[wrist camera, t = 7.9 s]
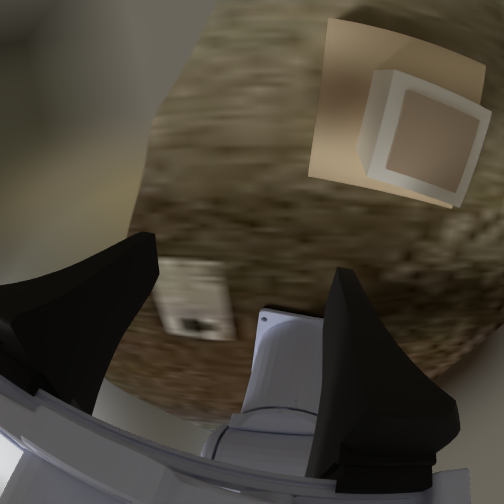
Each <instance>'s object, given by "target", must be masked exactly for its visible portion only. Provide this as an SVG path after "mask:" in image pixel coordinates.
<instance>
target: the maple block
mask: <svg viewBox="0 0 504 504" xmlns="http://www.w3.org/2000/svg"><path fill="white" fill-rule="evenodd" d="M392 69H394V70H397V71H400V72H403V73H406V74H409V75H411V76H414V77H417V78H419V79H422V80H425V81H427V82H430V83H432V84H435V85H437V86H439V87H442V88H444V89H446V90H449V91H451V92H453V93H455V94H457V95H460V96H462V97H464V98H466V99H468V100H470V101H472V102H474V103H476V104H478V105H480V102H481V97H482V91H483V85H484V79H485V72H486V65H484V64H481V63H479V62H477V61H475V60H473V59H470V58H468V57H466V56H463V55H461V54H458V53H456V52H453V51H451V50H448V49H446V48H443V47H440V46H438V45H435V44H432V43H429V42H426V41H423V40H420V39H417V38H414V37H411V36H407V35H404V34H400V33H397V32H393V31H390V30H386V29H382V28H378V27H374V26H369V25H365V24H360V23H356V22H351V21H345V20H340V19H334V18H328V26H327V36H326V45H325V54H324V63H323V71H322V79H321V87H320V95H319V102H318V110H317V117H316V124H315V131H314V138H313V145H312V152H311V158H310V165H309V172H308V176H310V177H315V178H321V179H326V180H331V181H336V182H342V183H347V184H351V185H356V186H361V187H366V188H370V189H375V190H379V191H384V192H388V193H392V194H397V195H401V196H405V197H409V198H413V199H417V200H421V201H425V202H429V203H432V204H436V205H440V206H444V207H447V208H451V209H452V207H453V205H451V204H448V203H445V202H442V201H440V200H437V199H434V198H431V197H428V196H425V195H423V194H420V193H417V192H414V191H411V190H408V189H404V188H401V187H398V186H395V185H392V184H389V183H385V182H382V181H379V180H375V179H372V178H369V177H366V174H365V171H364V168H363V166H362V163H361V160H360V157H359V155H358V152H357V149H356V145H357V141H358V137H359V133H360V129H361V125H362V121H363V117H364V113H365V108H366V104H367V100H368V96H369V91H370V87H371V82H372V77H373V73H374V70H392Z"/></svg>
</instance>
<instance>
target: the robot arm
mask: <svg viewBox="0 0 504 504" xmlns="http://www.w3.org/2000/svg"><path fill="white" fill-rule="evenodd" d="M159 274H160V273H159V265H158V257H157V248H156V238H155V234H154V233H148V232H143V231H142V232H139V233H137V234H135V235H133V236H130V237H128V238H126V239H125V240H123V241H121V242H119V243H117V244H115V245H113V246H111V247H109V248H107V249H105V250H104V251H101V252H99V253H97V254H95V255H93V256H91V257H89V258H87V259H85V260H83V261H81V262H79V263H76V264H74V265H72V266H69V267H67V268H64V269H62V270H59V271H56V272H53V273H50V274H47V275H44V276H41V277H38V278H34V279H31V280H26V281H22V282H18V283H12V284H6V285H0V434H2V435H3V436H4V437H5V438H6V439H8V440H9V441H10V442H12V443H13V444H14V445H15V446H17V447H18V448H20V449H21V450H22V451H23V452H24V453H23V455H22V457H21V459H20V460H19V462H18V464H17V466H16V468H15V470H14V472H13V473H12V475H11V477H10V480H9V481H8V483H7V485H6V487H5V489H4V491H3V493H2V496H1V498H0V504H471V494H470V477H469V469H468V468H464V469H455V470H446V471H440V472H436V473H433V474H432V466H433V465H435V464H436V453H437V452H438V451H439V450H440V449H442V448H443V447H445V446H446V445H447V444H449V443H450V442H451V441H452V440H453V439H454V438H455V437H456V436H457V435H458V433H459V431H460V421H459V413H458V408H457V404H456V401H455V400H454V399H453V398H452V397H451V396H449V395H448V394H447V393H446V392H444V391H443V390H442V389H441V388H439V387H438V386H437V385H436V384H435V383H434V382H432V381H431V380H430V379H429V378H428V377H427V376H426V375H425V374H424V373H423V372H422V371H421V370H420V369H419V368H418V367H417V366H416V365H415V364H414V363H413V362H412V361H411V360H410V358H409V357H408V356H407V355H406V354H405V353H404V352H403V350H402V349H401V348H400V347H399V346H398V344H397V343H396V342H395V340H394V339H393V338H392V336H391V335H390V334H389V332H388V331H387V329H386V328H385V327H384V325H383V323H382V322H381V320H380V319H379V317H378V315H377V314H376V312H375V310H374V309H373V307H372V305H371V303H370V301H369V300H368V298H367V296H366V294H365V292H364V290H363V288H362V286H361V284H360V282H359V280H358V278H357V276H356V274H355V273H354V271H353V270H352V269H346V268H341V267H337V269H336V272H335V276H334V279H333V283H332V286H331V289H330V293H329V296H328V299H327V303H326V306H325V312H324V319H322V318H316V317H311V316H305V315H300V314H294V313H289V312H283V311H278V310H273V309H268V308H263V309H261V310H260V313H259V320H258V327H257V335H256V342H255V350H254V357H253V364H252V373H251V377H250V381H249V385H248V388H247V392H246V396H245V399H244V403H243V407H242V410H241V414H232V417H231V421H230V424H229V425H221V426H219V427H218V428H216V430H215V431H214V432H212V433H211V434H210V435H209V437H208V438H207V440H206V442H205V444H204V446H203V449H202V452H201V455H200V456H197V455H194V454H190V453H187V452H183V451H180V450H177V449H174V448H171V447H168V446H165V445H162V444H159V443H156V442H153V441H151V440H148V439H145V438H143V437H140V436H137V435H135V434H132V433H130V432H127V431H125V430H122V429H120V428H118V427H115V426H113V425H110V424H108V423H106V422H104V421H102V420H99V419H97V418H95V417H93V416H92V413H93V409H94V406H95V403H96V399H97V396H98V393H99V390H100V387H101V384H102V381H103V379H104V376H105V373H106V371H107V369H108V366H109V364H110V361H111V359H112V357H113V355H114V353H115V350H116V348H117V346H118V344H119V342H120V340H121V338H122V336H123V335H124V333H125V331H126V330H127V328H128V327H129V325H130V324H131V322H132V321H133V319H134V318H135V316H136V314H137V313H138V311H139V310H140V308H141V307H142V305H143V304H144V302H145V301H146V299H147V298H148V296H149V295H150V293H151V291H152V289H153V287H154V285H155V283H156V281H157V278H158V276H159ZM263 317H265V318H263Z"/></svg>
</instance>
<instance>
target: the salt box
mask: <svg viewBox="0 0 504 504" xmlns="http://www.w3.org/2000/svg"><path fill="white" fill-rule="evenodd" d="M491 115H492V111H490V110H488V109H486V108H484V107H482V106H480V105H478V104H476V103H474V102H472V101H470V100H468V99H466V98H464V97H462V96H460V95H457V94H455V93H453V92H451V91H449V90H446V89H444V88H442V87H439V86H437V85H435V84H432V83H430V82H427V81H425V80H422V79H419V78H417V77H414V76H411V75H409V74H406V73H403V72H400V71H397V70H394V69H392V70H374V73H373V77H372V82H371V87H370V91H369V96H368V100H367V104H366V108H365V113H364V117H363V121H362V125H361V129H360V133H359V137H358V141H357V145H356V149H357V152H358V155H359V157H360V160H361V163H362V166H363V168H364V171H365V174H366V177H369V178H372V179H375V180H379V181H382V182H385V183H389V184H392V185H395V186H398V187H401V188H404V189H408V190H411V191H414V192H417V193H420V194H423V195H425V196H428V197H431V198H434V199H437V200H440V201H442V202H445V203H448V204H451V205H453V206H456V207H459V208H460V206H461V204H462V201H463V199H464V196H465V194H466V191H467V189H468V186H469V183H470V181H471V178H472V175H473V172H474V170H475V167H476V164H477V161H478V158H479V155H480V152H481V149H482V146H483V143H484V139H485V136H486V133H487V129H488V126H489V122H490V118H491Z"/></svg>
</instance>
